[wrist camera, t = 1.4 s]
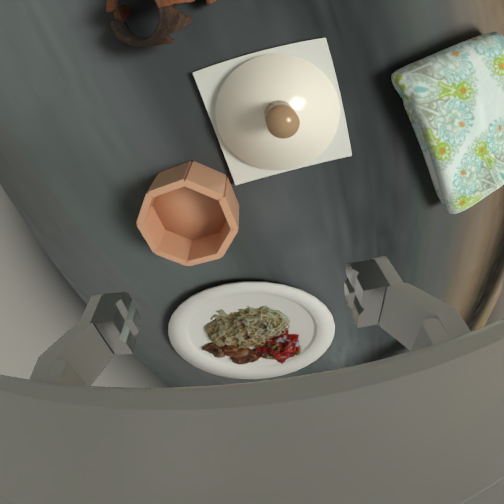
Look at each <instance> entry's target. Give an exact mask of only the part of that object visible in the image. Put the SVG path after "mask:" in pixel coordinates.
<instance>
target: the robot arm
mask: <svg viewBox="0 0 504 504" xmlns="http://www.w3.org/2000/svg"><path fill="white" fill-rule="evenodd" d="M346 274H347V277H348V278H347V279H346V281H345V285H344V291H345V298H346V301H347V304H348V306H349V307H351V308H352V317H353V319H354V322H355V324H356V327H357V328H360V327H365V326H371V325H376V324H379V326H380V327H381V328H383V329H384V330H385V331H386V332H388V333H389V334H390V335H391V336H393V337H394V338H395V339H396V340H398V341H399V342H400V343H401V344H402V345H404V346H405V347H406V348H407V349H409V350H410V352H407V353H404V354H400V355H396V356H393V357H389V358H385V359H381V360H377V361H373V362H368V363H364V364H360V365H355V366H351V367H346V368H341V369H336V370H331V371H326V372H320V373H315V374H309V375H303V376H296V377H290V378H283V379H276V380H268V381H259V382H250V383H241V384H230V385H217V386H201V387H178V388H120V387H98V386H91V385H92V383H93V382H94V381H95V379H96V378H97V377H98V376H99V375H100V373H101V372H102V371H103V370H104V368H105V367H106V366H107V364H108V363H109V362H110V361H111V359H112V358H113V357H114V355H116V354H133V351H134V348H135V344H136V339H135V337H134V336H135V335H136V334H137V333H138V332H139V328H140V317H139V313H138V311H137V309H136V308H135V307H134V306H132V305H131V301H132V299H131V297H130V295H129V294H128V293H126V292H120V293H107V294H97V295H93V296H91V298H90V301H89V303H88V305H87V307H86V309H85V311H84V314H83V316H82V318H81V320H80V323H79V324H75V325H74V326H73V327H72V328H71V329H70V330H68V332H66V333H65V334H64V335H63V336H62V337H61V338H59V339H58V340H57V341H56V342H55V343H54V344H53V345H52V346H51V347H49V348H48V349H47V350H46V351H45V352H44V353H43V354H42V355H41V356H40V357H39V358H38V360H37V363H36V365H35V367H34V370H33V372H32V375H31V377H30V380H29V379H23V378H17V377H11V376H5V375H0V504H504V319H502V320H500V321H497V322H495V323H492V324H490V325H488V326H485V327H482V328H480V329H477V330H475V331H472V332H471V331H470V330H469V328H468V326H467V325H466V323H465V322H464V320H463V318H462V317H461V315H460V314H459V312H458V311H457V309H455V308H453V307H451V306H449V305H448V304H446V303H444V302H442V301H440V300H438V299H437V298H435V297H433V296H431V295H429V294H427V293H426V292H424V291H422V290H420V289H418V288H416V287H414V286H412V285H410V284H409V283H403V281H402V280H401V278H400V277H399V275H398V274H397V272H396V271H395V269H394V268H393V266H392V265H391V263H390V262H389V260H388V259H387V257H385V256H383V257H378V258H373V259H369V260H363V261H357V262H351V263H347V265H346Z"/></svg>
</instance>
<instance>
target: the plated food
mask: <svg viewBox="0 0 504 504" xmlns="http://www.w3.org/2000/svg"><path fill="white" fill-rule="evenodd" d="M334 332H335V324H334V320H333V317H332V314H331V313H330V311H329V310H328V308H327V307H326V305H324V304H323V303H322V302H321V301H320V300H318V299H317V298H316V297H315V296H313V295H311V294H309V293H307V292H305V291H303V290H301V289H297V288H294V287H291V286H288V285H284V284H278V283H271V282H253V281H244V282H236V283H228V284H222V285H219V286H215V287H212V288H208V289H205V290H203V291H201V292H199V293H197V294H195V295H192V296H191V297H189V298H188V299H187V300H185V301H184V302H183V303H181V304H180V305H179V306H178V308H177V309H176V310H175V311H174V313H173V314H172V316H171V319H170V321H169V325H168V336H169V339H170V342H171V344H172V346H173V348H174V349H175V351H176V352H177V353H178V354H179V355H180V356H181V357H182V358H183V359H184V360H186V361H187V362H189V363H190V364H192V365H193V366H195V367H197V368H199V369H201V370H204V371H206V372H209V373H212V374H215V375H219V376H224V377H229V378H238V379H262V378H271V377H276V376H281V375H285V374H288V373H291V372H294V371H297V370H299V369H301V368H303V367H305V366H307V365H309V364H310V363H312V362H314V361H315V360H317V359H318V358H319V357H320V356H321V355H322V354H323V353H324V352H325V351H326V350H327V349H328V347H329V346H330V344H331V342H332V340H333V337H334Z"/></svg>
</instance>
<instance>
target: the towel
mask: <svg viewBox="0 0 504 504" xmlns="http://www.w3.org/2000/svg"><path fill="white" fill-rule="evenodd" d="M391 80H392V83H393V86H394V88H395V89H396V91H397V92H398V93H399V94H400V97H401V98H402V99H403V104H404V108H405V110H406V112H407V114H408V116H409V119H410V121H411V124H412V127H413V129H414V131H415V134H416V137H417V139H418V142H419V145H420V147H421V150H422V152H423V155H424V158H425V161H426V164H427V167H428V169H429V173H430V175H431V179H432V182H433V185H434V188H435V191H436V193H437V196H438V197H439V199H440V201H441V202H442V203H443V204H445V205H446V208H447V210H448V212H449V214H456V213H460V212H462V211H464V210H466V209H468V208H469V207H471V206H473V205H474V204H476V203H477V202H479V201H481V200H482V199H483V198H485V197H486V196H488V195H489V194H490V193H492V192H493V191H495V190H497V189H498V188H499V187H501V186H502V185H503V184H504V37H503V36H502V35H500V34H499V33H497V32H492V33H489V34H488V33H487V34H484V35H479V36H477V37H474V38H471V39H468V40H466V41H463V42H461V43H458V44H456V45H453V46H451V47H449V48H446V49H444V50H442V51H439V52H437V53H435V54H432V55H430V56H427V57H425V58H423V59H420V60H418V61H416V62H413V63H411V64H408V65H406V66H404V67H402V68H400V69H398V70H397V71H395V72H394V73H392V75H391Z"/></svg>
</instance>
